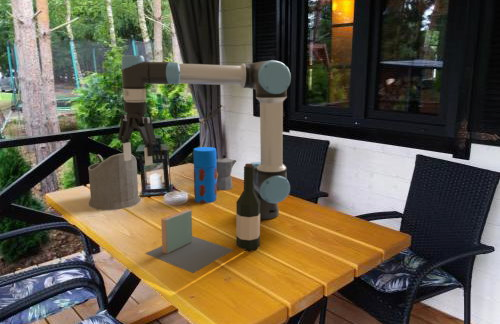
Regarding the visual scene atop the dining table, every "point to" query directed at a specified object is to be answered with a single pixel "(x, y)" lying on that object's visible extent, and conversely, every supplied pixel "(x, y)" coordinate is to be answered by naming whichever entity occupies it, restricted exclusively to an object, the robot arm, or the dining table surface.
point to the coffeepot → (224, 173)
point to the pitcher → (113, 183)
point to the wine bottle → (248, 214)
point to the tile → (176, 230)
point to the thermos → (205, 174)
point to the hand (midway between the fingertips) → (138, 162)
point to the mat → (192, 254)
